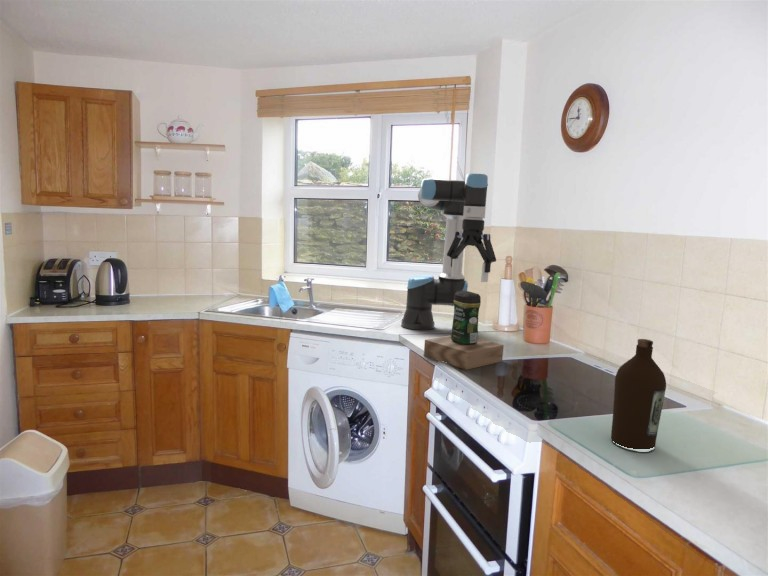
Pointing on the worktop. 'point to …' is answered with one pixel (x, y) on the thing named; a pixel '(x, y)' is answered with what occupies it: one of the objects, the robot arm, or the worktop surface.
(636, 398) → the olive oil
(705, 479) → the worktop surface
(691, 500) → the worktop surface
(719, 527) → the worktop surface
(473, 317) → the coffee jar
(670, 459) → the worktop surface
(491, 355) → the block
